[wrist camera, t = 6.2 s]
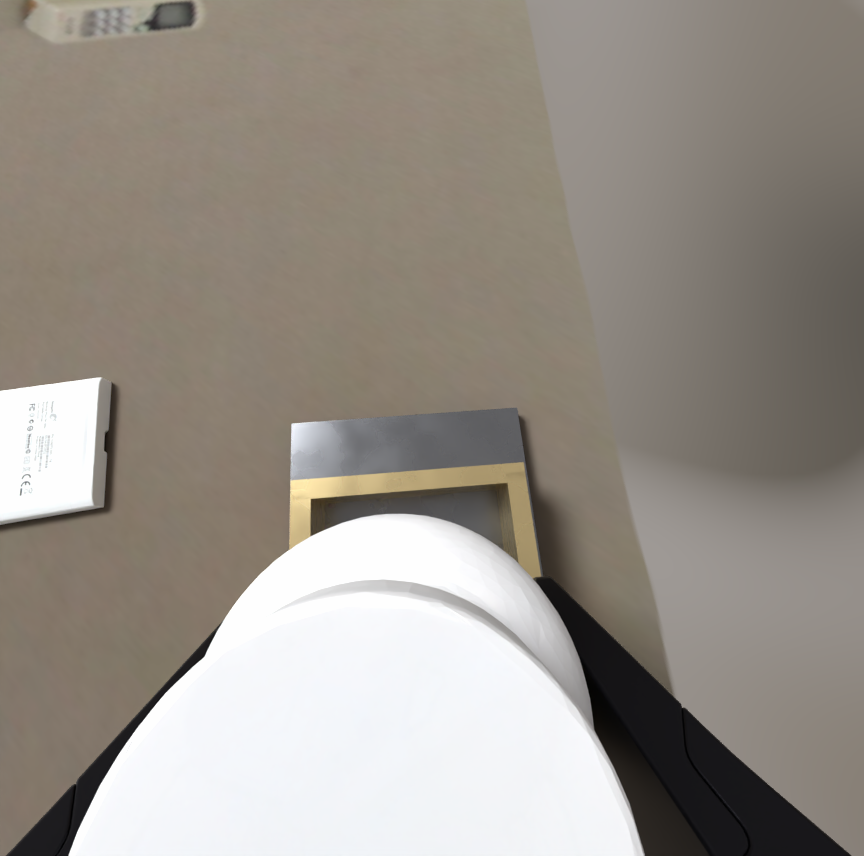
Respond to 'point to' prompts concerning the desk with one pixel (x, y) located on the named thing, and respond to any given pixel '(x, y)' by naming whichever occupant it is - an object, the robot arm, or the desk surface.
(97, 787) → the robot arm
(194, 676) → the supplement bottle
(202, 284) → the desk surface
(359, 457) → the wooden walled tray
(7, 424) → the external hard drive
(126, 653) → the desk surface
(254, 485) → the desk surface
